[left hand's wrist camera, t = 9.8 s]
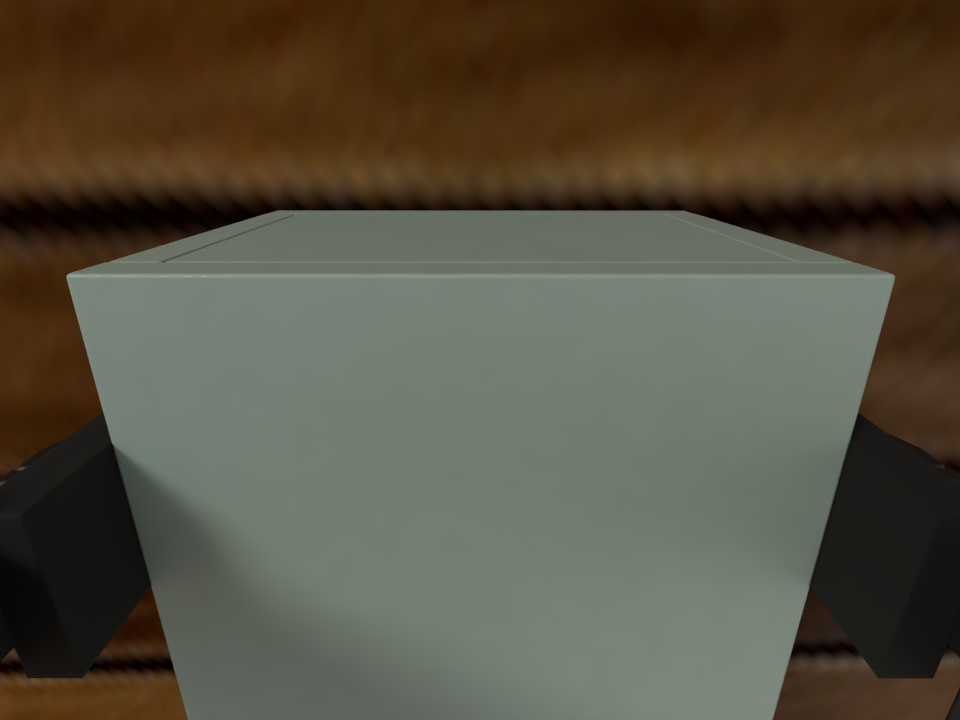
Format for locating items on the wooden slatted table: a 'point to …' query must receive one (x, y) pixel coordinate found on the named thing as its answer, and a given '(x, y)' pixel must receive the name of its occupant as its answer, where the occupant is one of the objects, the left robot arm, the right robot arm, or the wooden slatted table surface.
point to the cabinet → (480, 457)
